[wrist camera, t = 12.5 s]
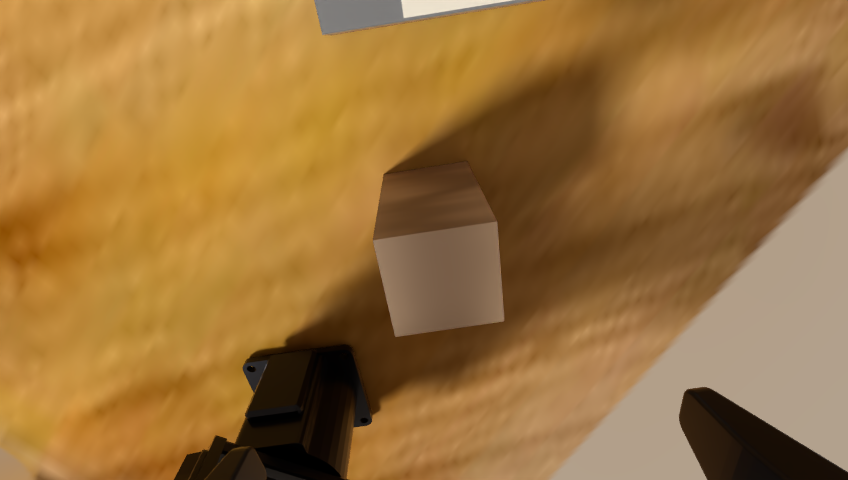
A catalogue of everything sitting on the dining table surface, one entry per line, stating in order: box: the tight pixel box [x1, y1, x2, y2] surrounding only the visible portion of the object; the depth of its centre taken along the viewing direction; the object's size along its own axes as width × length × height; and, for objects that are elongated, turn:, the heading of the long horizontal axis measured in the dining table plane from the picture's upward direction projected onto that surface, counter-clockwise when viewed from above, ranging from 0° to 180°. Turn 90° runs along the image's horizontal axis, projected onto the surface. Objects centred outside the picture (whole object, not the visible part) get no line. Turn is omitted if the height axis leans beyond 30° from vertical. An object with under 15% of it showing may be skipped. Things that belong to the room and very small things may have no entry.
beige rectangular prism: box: [373, 161, 504, 337], centre depth 17 cm, size 4×4×7 cm
